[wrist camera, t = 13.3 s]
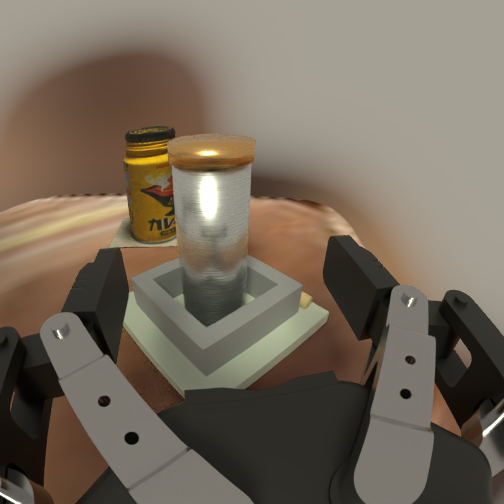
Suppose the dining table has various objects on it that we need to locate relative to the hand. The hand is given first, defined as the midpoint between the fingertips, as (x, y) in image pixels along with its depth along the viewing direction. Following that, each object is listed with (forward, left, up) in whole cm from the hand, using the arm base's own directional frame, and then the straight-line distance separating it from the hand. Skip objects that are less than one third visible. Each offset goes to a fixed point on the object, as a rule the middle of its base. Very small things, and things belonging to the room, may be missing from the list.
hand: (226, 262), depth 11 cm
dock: (-6, +4, -10) cm, 12 cm away
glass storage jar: (-6, +4, -9) cm, 11 cm away
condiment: (-22, +7, -10) cm, 25 cm away
